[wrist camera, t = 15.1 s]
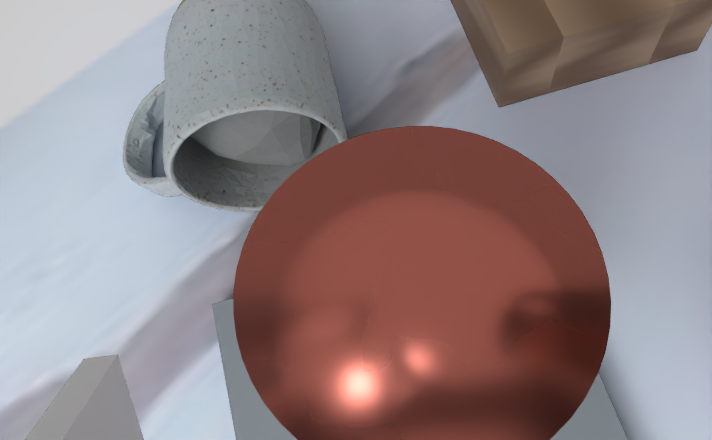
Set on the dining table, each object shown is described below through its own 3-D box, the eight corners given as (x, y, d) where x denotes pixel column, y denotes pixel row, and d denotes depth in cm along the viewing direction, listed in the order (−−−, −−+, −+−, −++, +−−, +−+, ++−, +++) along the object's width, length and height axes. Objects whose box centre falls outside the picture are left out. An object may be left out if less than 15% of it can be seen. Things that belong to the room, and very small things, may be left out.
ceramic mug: (330, 55, 33) (300, -65, 26) (360, 192, 30) (335, 94, 23) (133, 102, 34) (53, -4, 27) (140, 243, 30) (50, 161, 23)
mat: (287, 688, 22) (281, 695, 21) (219, 311, 28) (211, 304, 27) (675, 570, 22) (685, 572, 21) (525, 221, 28) (528, 211, 27)
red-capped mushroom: (368, 525, 23) (274, 539, 8) (330, 373, 25) (206, 178, 11) (517, 480, 23) (682, 417, 9) (465, 334, 26) (524, 88, 11)
